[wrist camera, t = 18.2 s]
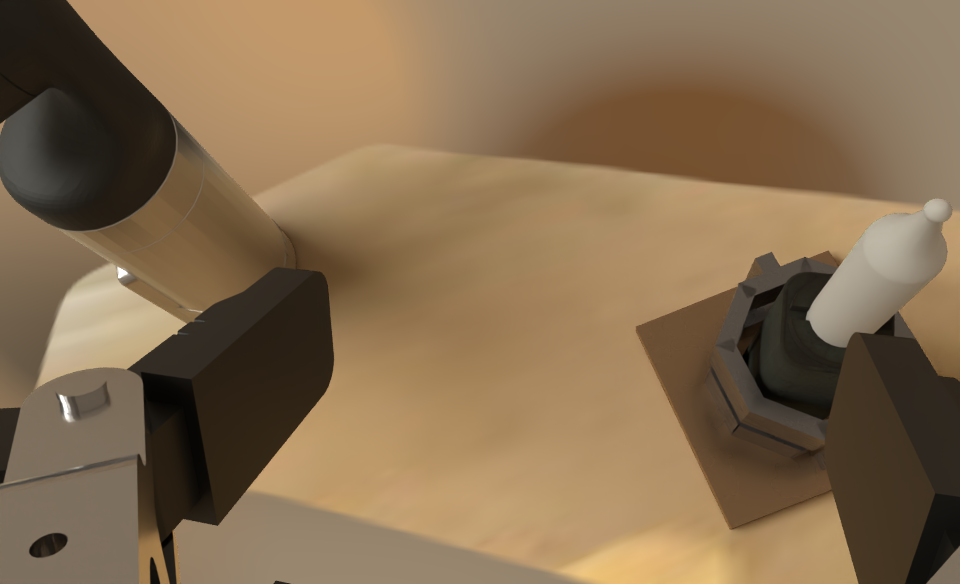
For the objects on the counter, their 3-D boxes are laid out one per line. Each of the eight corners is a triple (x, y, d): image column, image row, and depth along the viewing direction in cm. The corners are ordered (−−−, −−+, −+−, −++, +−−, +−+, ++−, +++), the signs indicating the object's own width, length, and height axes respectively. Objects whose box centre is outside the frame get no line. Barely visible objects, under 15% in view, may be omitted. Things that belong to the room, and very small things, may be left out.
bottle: (743, 342, 49) (861, 132, 26) (825, 353, 48) (1026, 144, 25) (737, 418, 47) (857, 266, 24) (822, 431, 46) (1033, 285, 23)
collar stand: (729, 529, 46) (756, 518, 37) (635, 330, 51) (640, 282, 43) (943, 446, 45) (1017, 417, 37) (825, 255, 51) (867, 192, 43)
